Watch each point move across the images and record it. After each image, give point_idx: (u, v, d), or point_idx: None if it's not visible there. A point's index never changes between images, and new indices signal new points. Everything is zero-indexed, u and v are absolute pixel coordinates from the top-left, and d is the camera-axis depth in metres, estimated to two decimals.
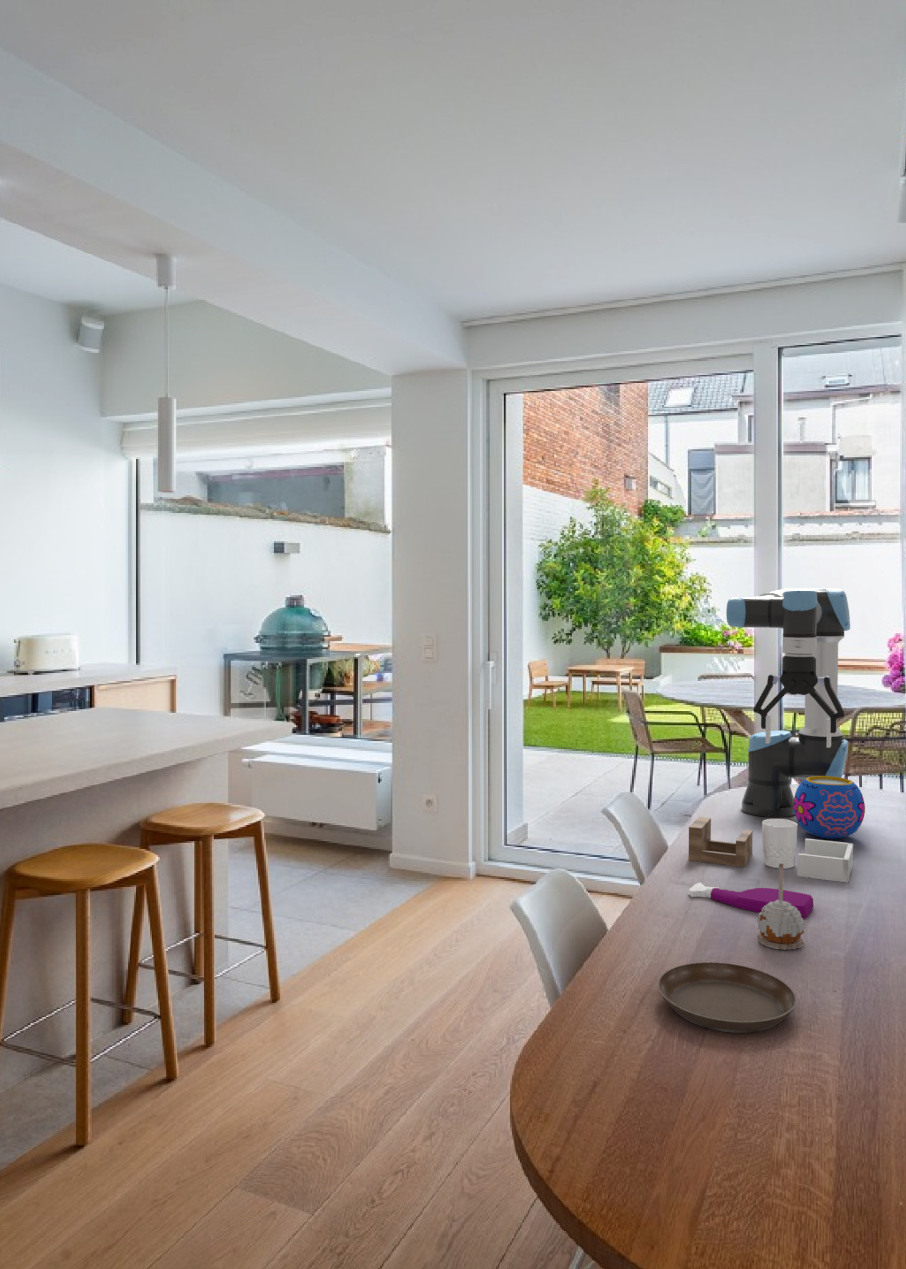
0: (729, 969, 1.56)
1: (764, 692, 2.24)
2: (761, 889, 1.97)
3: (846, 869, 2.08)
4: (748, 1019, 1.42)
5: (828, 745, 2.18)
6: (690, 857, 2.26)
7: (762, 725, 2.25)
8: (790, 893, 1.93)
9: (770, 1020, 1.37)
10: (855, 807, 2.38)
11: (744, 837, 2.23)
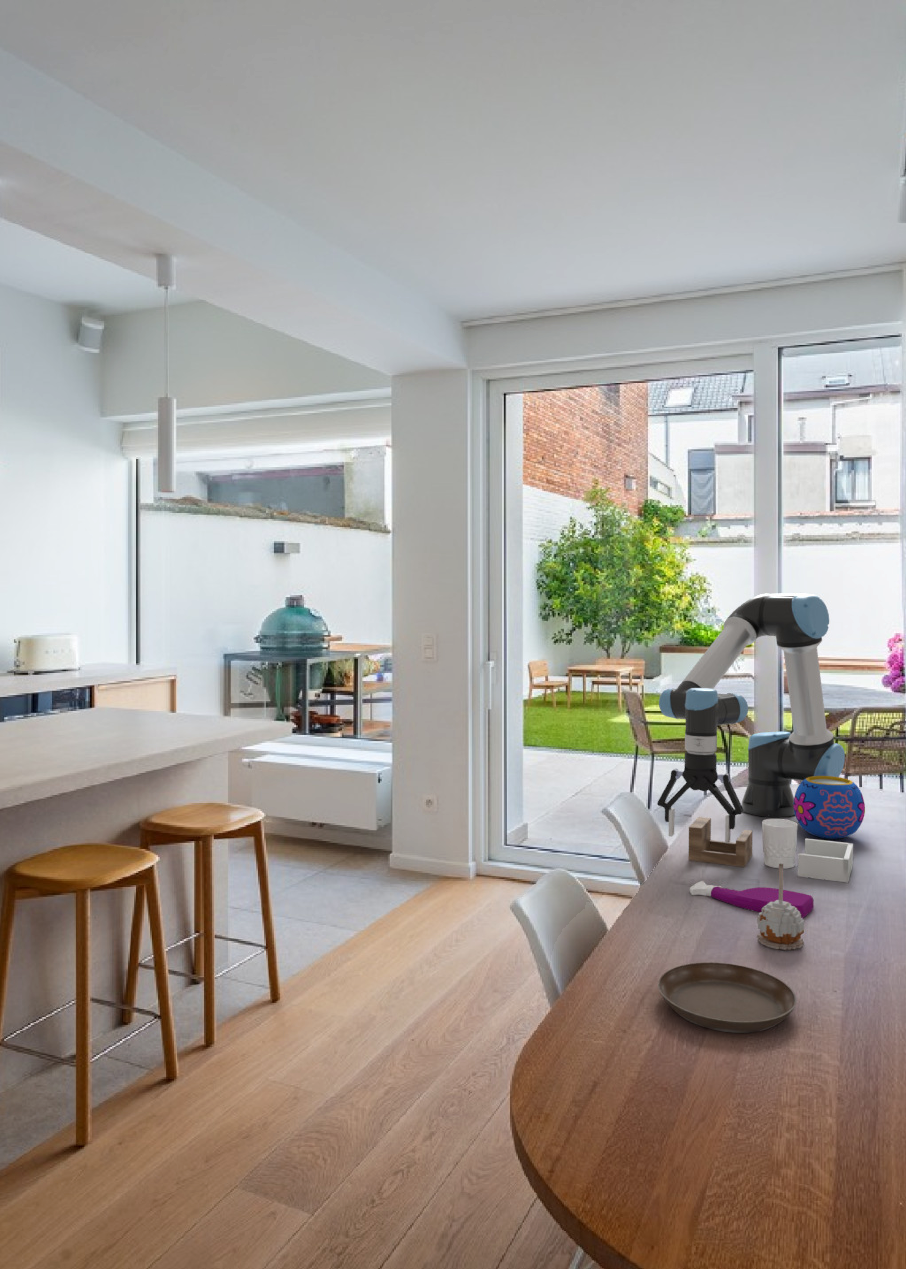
0: (729, 969, 1.56)
1: (667, 786, 2.31)
2: (762, 888, 1.97)
3: (846, 869, 2.08)
4: (748, 1019, 1.42)
5: (726, 841, 2.25)
6: (690, 857, 2.26)
7: (666, 818, 2.32)
8: (790, 893, 1.93)
9: (770, 1020, 1.37)
10: (855, 807, 2.38)
11: (744, 837, 2.23)
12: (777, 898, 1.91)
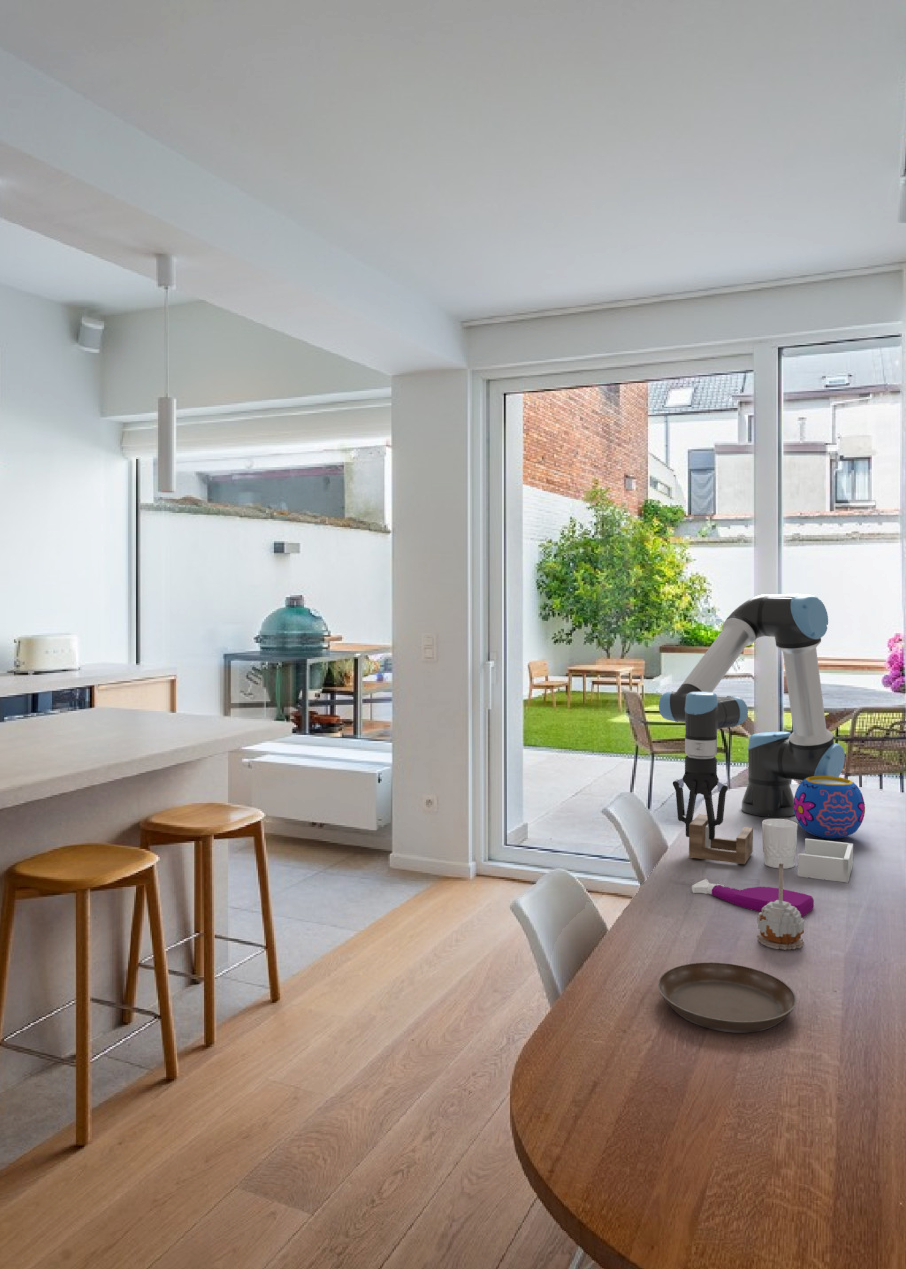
0: (729, 969, 1.56)
1: (678, 799, 2.31)
2: (763, 888, 1.97)
3: (846, 869, 2.08)
4: (748, 1019, 1.42)
5: None
6: (690, 855, 2.26)
7: (686, 833, 2.31)
8: (790, 893, 1.93)
9: (770, 1020, 1.37)
10: (855, 807, 2.38)
11: (744, 834, 2.23)
12: (776, 898, 1.91)
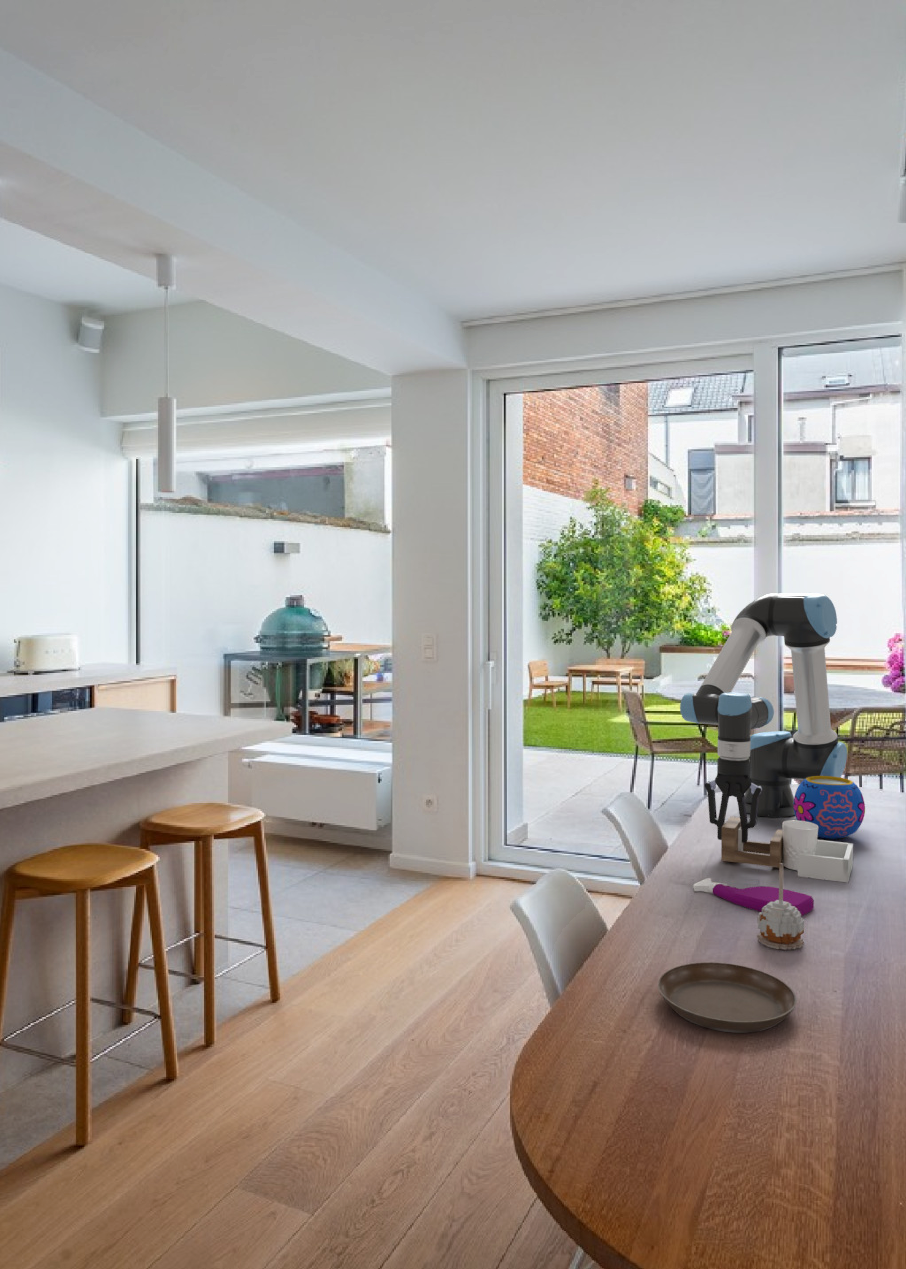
0: (729, 969, 1.56)
1: (710, 801, 2.27)
2: (764, 887, 1.98)
3: (846, 869, 2.08)
4: (748, 1019, 1.42)
5: None
6: (722, 858, 2.22)
7: (718, 836, 2.27)
8: (791, 893, 1.93)
9: (770, 1020, 1.37)
10: (855, 807, 2.38)
11: (778, 837, 2.20)
12: (775, 897, 1.91)
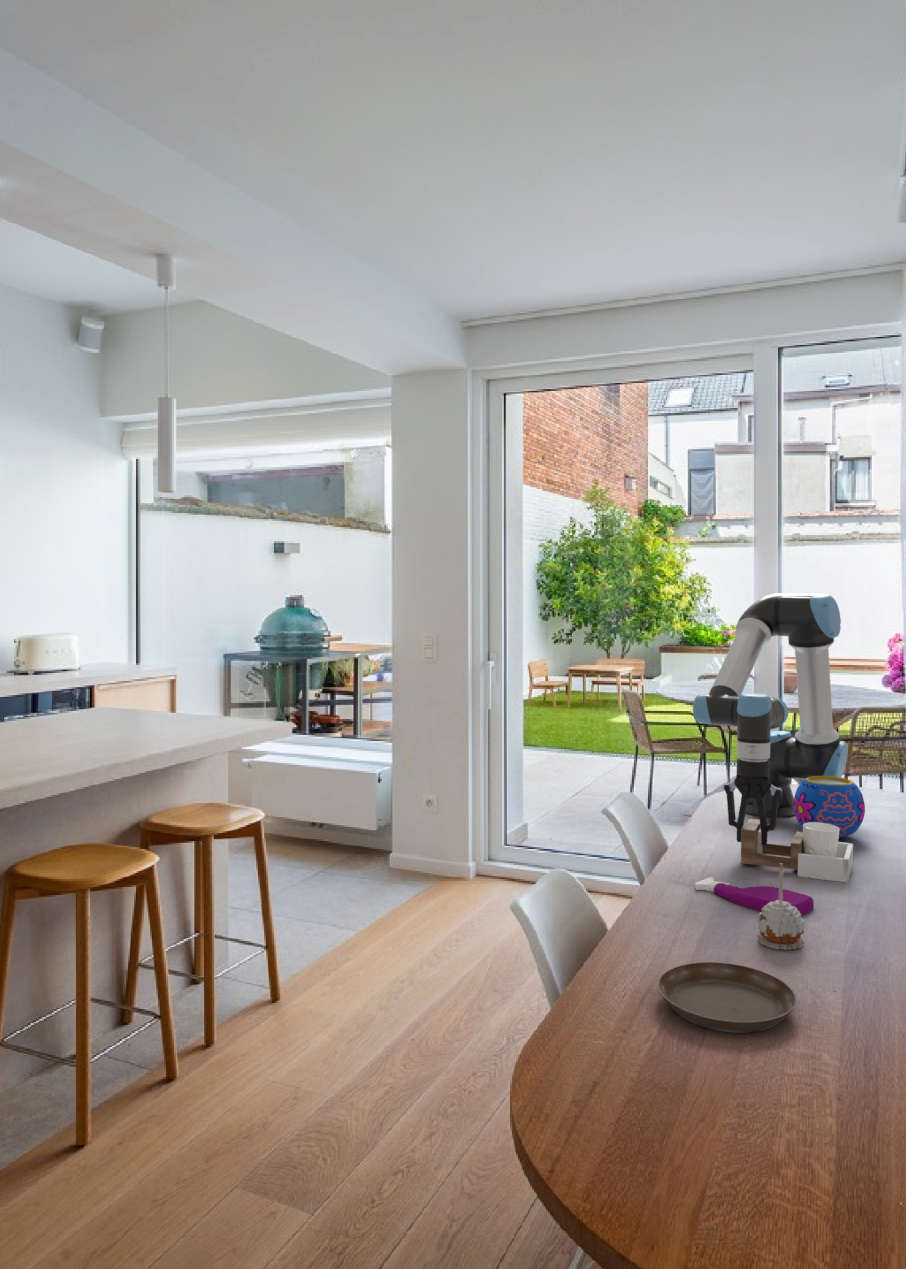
0: (729, 969, 1.56)
1: (729, 803, 2.25)
2: (765, 887, 1.98)
3: (846, 869, 2.08)
4: (748, 1019, 1.42)
5: None
6: (742, 860, 2.20)
7: (738, 838, 2.25)
8: (791, 893, 1.93)
9: (770, 1020, 1.37)
10: (855, 807, 2.38)
11: (799, 839, 2.18)
12: (774, 897, 1.91)
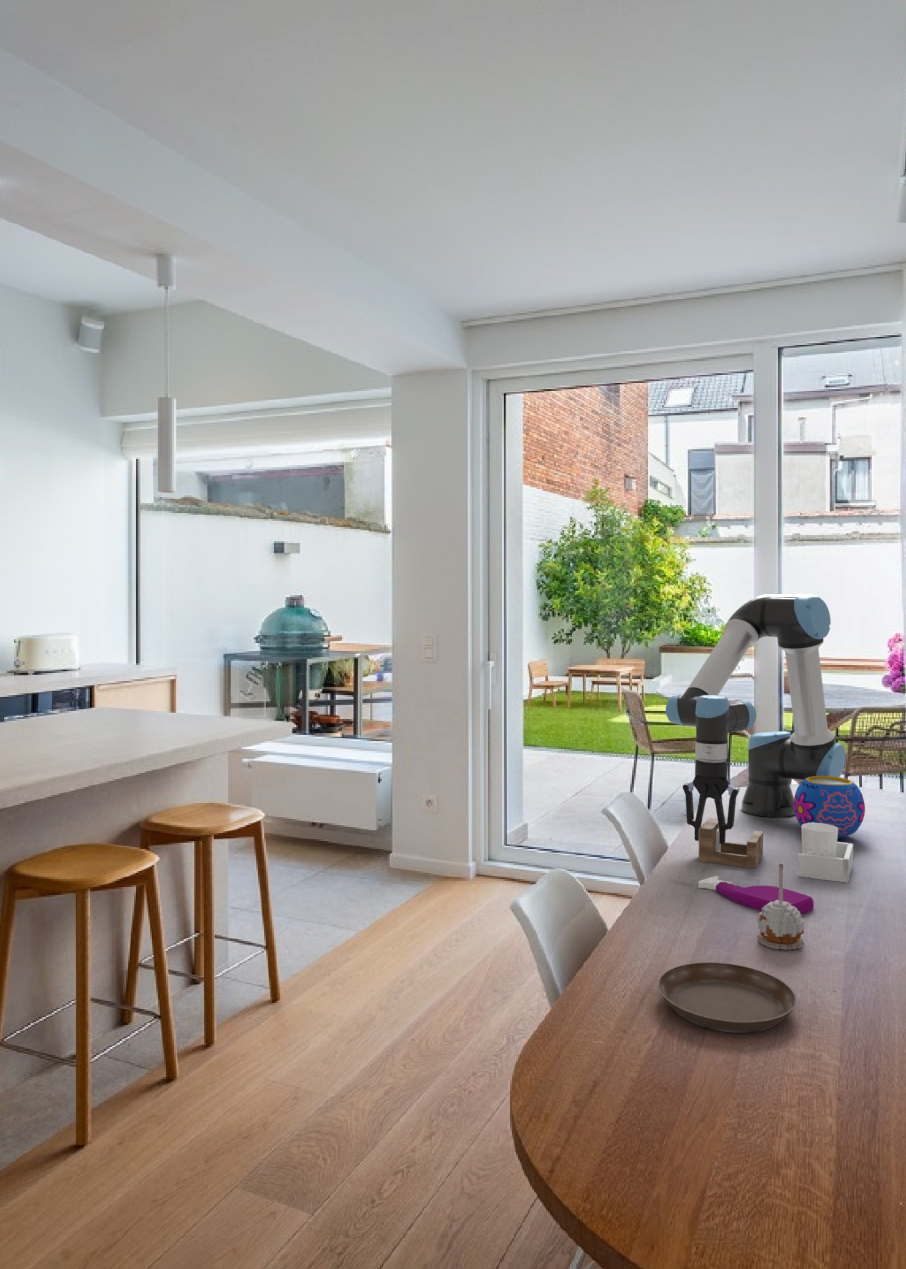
0: (729, 969, 1.56)
1: (687, 803, 2.29)
2: (767, 887, 1.98)
3: (846, 869, 2.08)
4: (748, 1019, 1.42)
5: None
6: (700, 859, 2.25)
7: (695, 837, 2.29)
8: (791, 893, 1.93)
9: (770, 1020, 1.37)
10: (855, 807, 2.38)
11: (755, 838, 2.22)
12: (773, 896, 1.92)
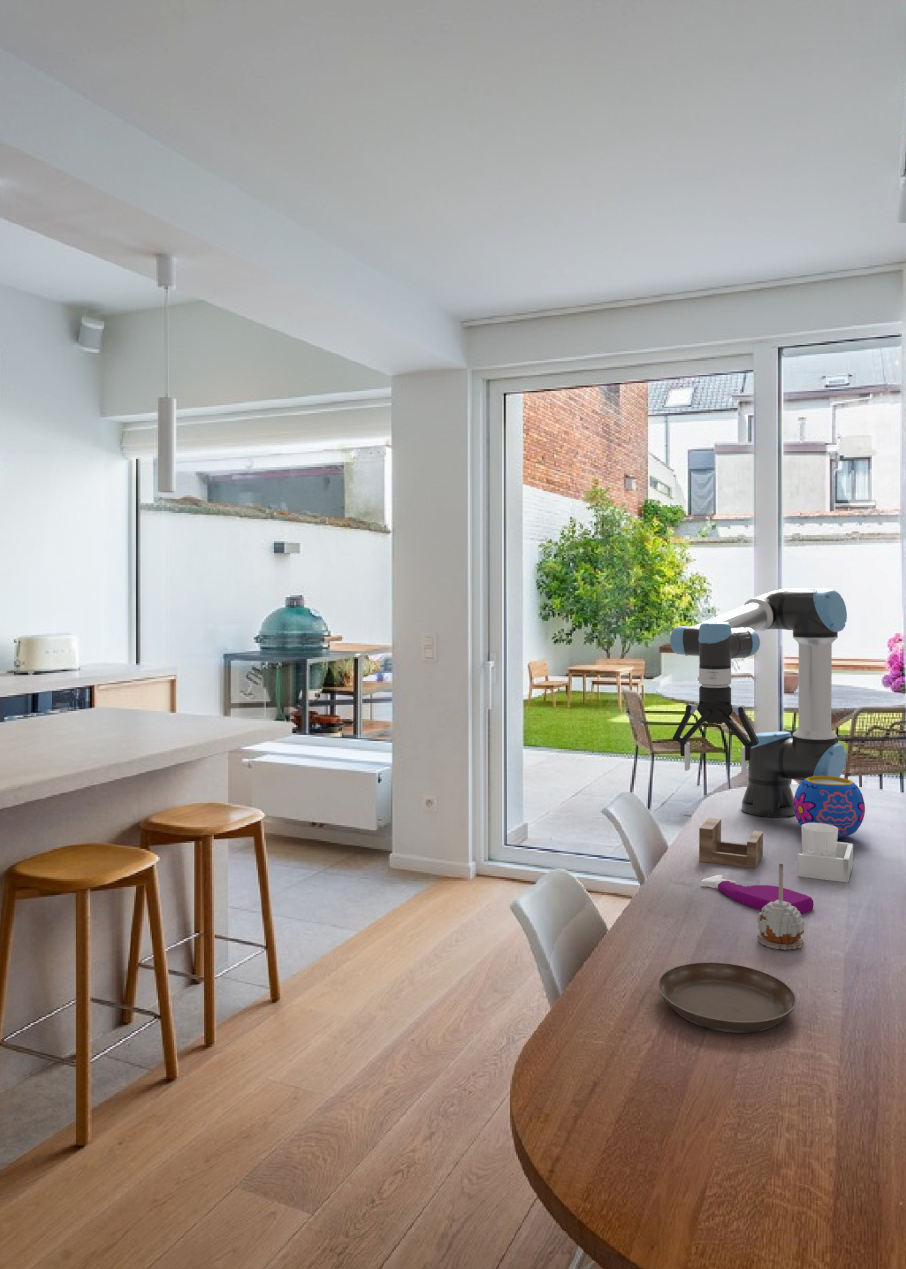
0: (729, 969, 1.56)
1: (682, 721, 2.32)
2: (768, 886, 1.98)
3: (846, 869, 2.08)
4: (748, 1019, 1.42)
5: (743, 772, 2.26)
6: (700, 859, 2.25)
7: (681, 753, 2.33)
8: (791, 893, 1.93)
9: (770, 1020, 1.37)
10: (855, 807, 2.38)
11: (755, 838, 2.22)
12: (772, 896, 1.92)
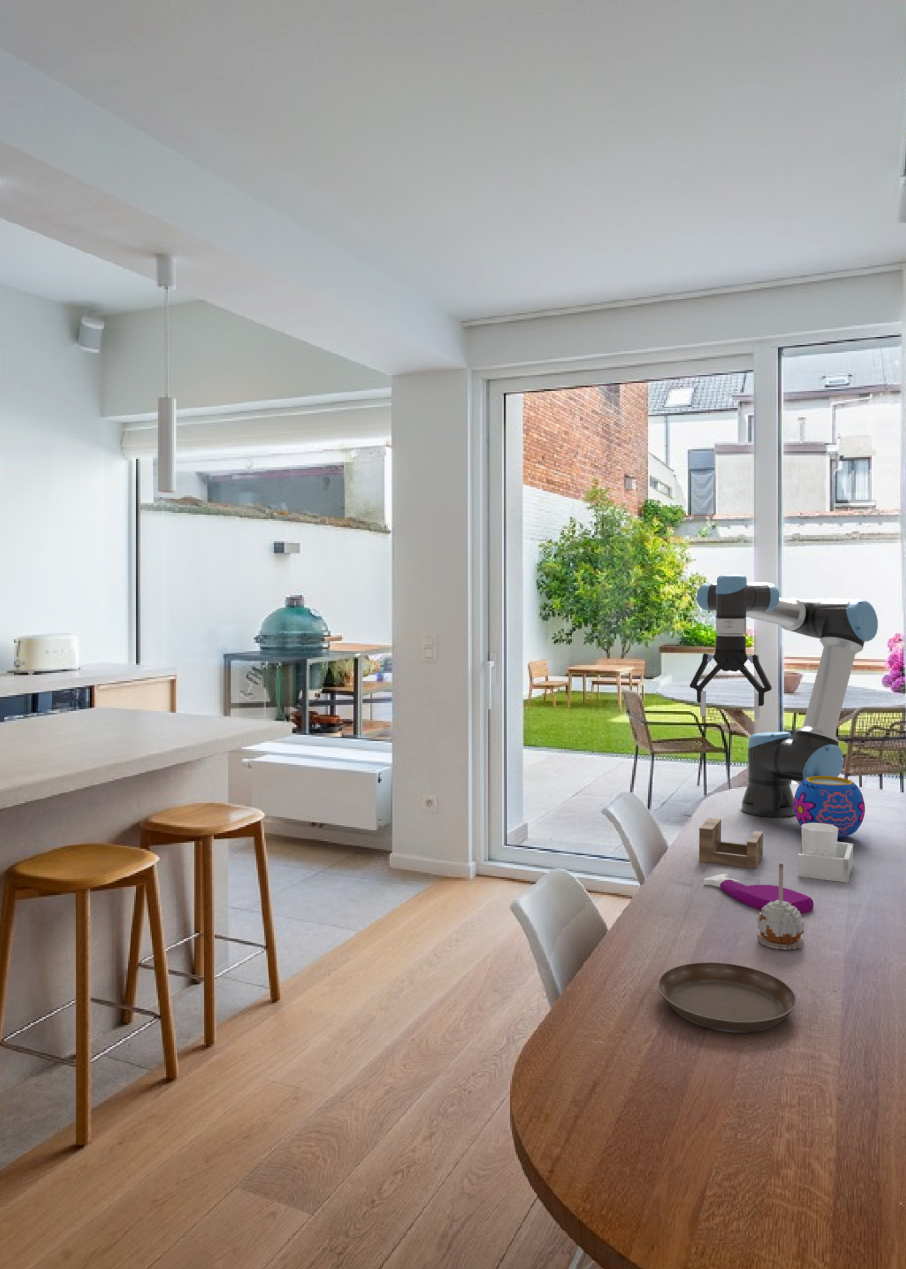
0: (729, 969, 1.56)
1: (699, 669, 2.45)
2: (770, 886, 1.99)
3: (846, 869, 2.08)
4: (748, 1019, 1.42)
5: (756, 717, 2.39)
6: (700, 859, 2.25)
7: (698, 699, 2.46)
8: (792, 893, 1.93)
9: (770, 1020, 1.37)
10: (855, 807, 2.38)
11: (755, 838, 2.22)
12: (772, 895, 1.92)
